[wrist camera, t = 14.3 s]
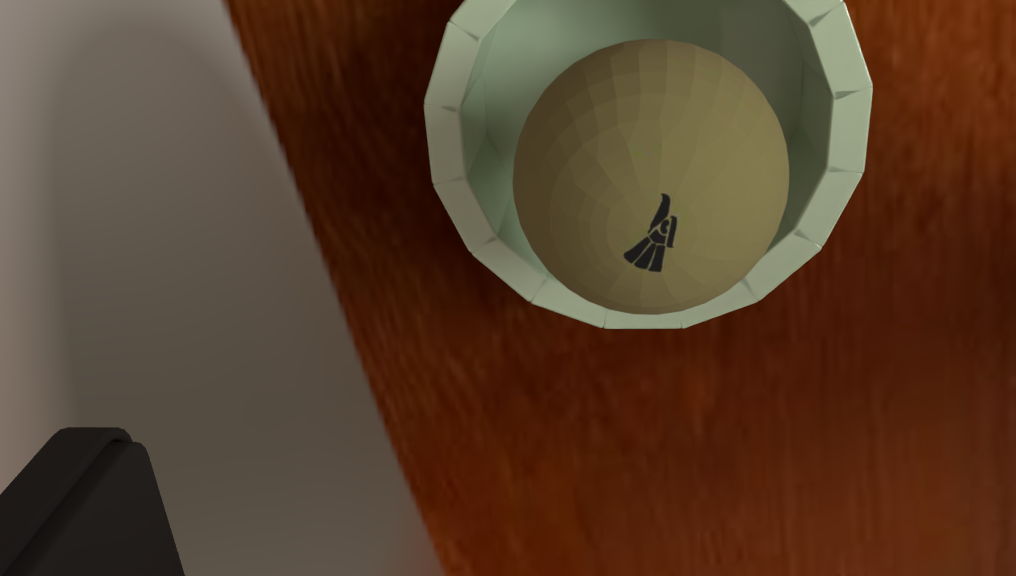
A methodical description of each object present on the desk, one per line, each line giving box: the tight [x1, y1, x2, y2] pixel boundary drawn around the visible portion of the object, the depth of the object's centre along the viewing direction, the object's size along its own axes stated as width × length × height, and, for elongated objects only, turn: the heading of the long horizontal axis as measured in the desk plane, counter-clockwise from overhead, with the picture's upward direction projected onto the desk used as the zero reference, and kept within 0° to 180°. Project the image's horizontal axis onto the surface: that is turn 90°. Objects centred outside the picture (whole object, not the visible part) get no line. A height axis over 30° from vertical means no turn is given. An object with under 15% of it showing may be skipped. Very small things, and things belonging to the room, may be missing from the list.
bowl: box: [424, 0, 873, 329], centre depth 24 cm, size 10×10×4 cm
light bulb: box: [513, 39, 789, 315], centre depth 21 cm, size 6×6×10 cm
